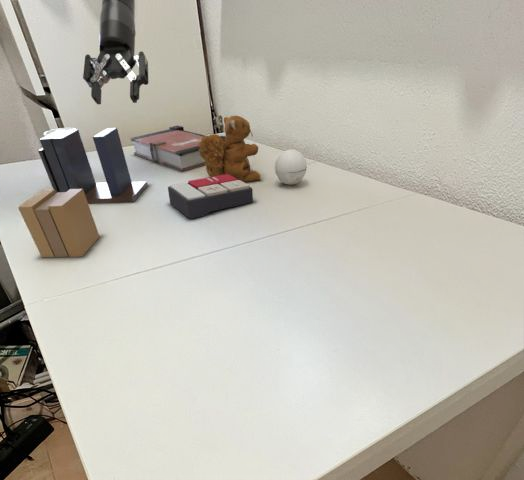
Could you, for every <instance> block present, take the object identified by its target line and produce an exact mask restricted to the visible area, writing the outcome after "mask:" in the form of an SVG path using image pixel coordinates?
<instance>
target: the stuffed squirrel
mask: <svg viewBox="0 0 524 480" xmlns="http://www.w3.org/2000/svg"><path fill="white" fill-rule="evenodd" d="M223 123H224V134H225V136H226V137H225V141H224V140H223V139H222V138H221V137H220V136H221V135H219V134H216V133H212V134H209V135H205V136H204V137H202V138H201V141H200V142H199V143H197V144H198V145H199V146H200V149H199V151H198V152H199V154H200V156H201V157H202V158H203V159H204V160H205V161H204V163H205V165H204V166H205V171H206V173H207V175H208V176H209V177H214V176H219V175H225V174H229V175H231V176H233V177H235V178H237V180H240V181H242V182H244V183H247V182H248V183H249V182H255V181H256V182H257V181H259V180H260V179H261V173H259V172H258V171H256V170H252V171H251V168H252V167H251V163H250V160H249V158H248V157H252V156H253V157H254V156H255V155H256V156H257V154H258V152H259V146H258V145H257V144H256V143H252V144H250V143H246V141H245V139H247V138H248V137H249V136H250V135H251V137H254V136H253V135H254V134H253V132H252V130H251V124H250V122H249V120H247V119H246V118H244V117H242V116H240V115H231V116H229V117H228V116H225V117H224V118H223Z"/></svg>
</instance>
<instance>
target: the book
mask: <svg viewBox="0 0 524 480" xmlns="http://www.w3.org/2000/svg"><path fill="white" fill-rule="evenodd" d="M204 136H205V135H204V134H201V133H197V132H193V131H189V130H184V126H182V125H174V126H170V127H168V129H165V130H160V131H155V132H151V133H147V134H143V135H138V136H133V137H130V138H129V139H130V142H133V147H134V152H133V155H134V156H135V157H139V158H142V159H145V160H148V161H151V162H153V163H154V164H159V165H162V166H165V167H168V168H171V169H174V170H177V171H180V172H182V173H183V172H185V171H189V170H192V169H196V168H199V167H202V166H206V165H205V163H204V161H205V160H204V159H203V158H202V157H201V156H200V154H199V152H198V151H199V149H200V146H199V145H198V144H197V143H199V142H200V141H201V138H202V137H204ZM219 136H220V137H221V138H222V139H223V140H224V141H225V137H226V135H219Z"/></svg>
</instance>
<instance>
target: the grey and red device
mask: <svg viewBox="0 0 524 480" xmlns="http://www.w3.org/2000/svg"><path fill="white" fill-rule="evenodd" d="M253 190H254V189H253V187H251V186H250V184H248V183H247V182H242V181H240V180H237V178H235V177H233V176H231V175H229V174H225V175H219V176H214V177H210V176H209V177H203V178H202V177H201V178H197V179H192V180H188V182H180V183H175V184H170V185H169V186H167V192H168V197H169V198H168V199H169V203H170V204H171V205H172V206H173V207H174V208H175V209H176V210H178V211H179V212H180V213H181V214H183V215H184V216H185V217H187V219H190V220H191V219H197V218H201V217H206V216H207V215H209V213H210V212H215V211H219V210H223V209H229V208H233V207H237V206H242V205H247V204H251V203H253V201H254V198H253V197H254V195H253V194H254V193H253V192H254V191H253Z"/></svg>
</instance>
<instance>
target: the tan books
mask: <svg viewBox="0 0 524 480" xmlns="http://www.w3.org/2000/svg"><path fill="white" fill-rule="evenodd" d="M17 209H18V210H19V213H20V215H21V217H22V219H23V222H24V223H25V225H26V228H27V230H28V233H29V234H30V235H31V238H32V240H33V242H34V244H35V246H36V248H37V251H38V253H39V254H40V257H41V258H82V257H84V256H85V255H86V253H87V252H88V251H89V250H90V249H91V247H92V246H93V245H94V244H95V243H96V242H97V241H98V239H99V238H100V236H101V235H100V234H99V231H98V228H97V225H96V222H95V219H94V217H93V214H92V210H91V208H90V205H89V203H88V202H87V199H86V196H85V193H84V191H83V189H70V190H68V191H67V192H57V193H56V191H55V190H54V189H41V190H40V191H38V192H37V193H35V194H34V195H33V196H31V197H29V198H28V199H27V200H26V201H24V202H23V203H22V204H20V205H18V206H17Z"/></svg>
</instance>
